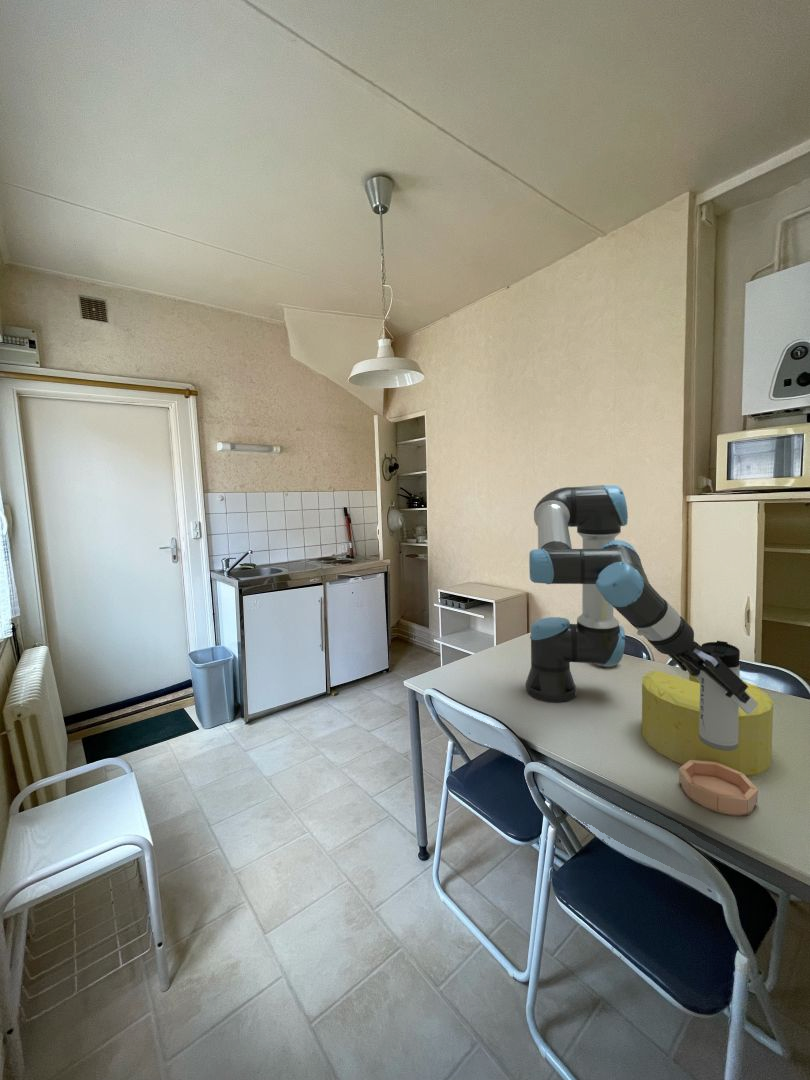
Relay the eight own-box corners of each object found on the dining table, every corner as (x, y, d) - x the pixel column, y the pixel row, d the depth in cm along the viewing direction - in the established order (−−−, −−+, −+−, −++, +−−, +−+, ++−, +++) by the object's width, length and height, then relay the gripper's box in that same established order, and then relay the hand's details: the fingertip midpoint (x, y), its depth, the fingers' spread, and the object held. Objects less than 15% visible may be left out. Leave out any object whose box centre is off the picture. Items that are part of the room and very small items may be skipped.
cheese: (651, 707, 124) (652, 657, 122) (770, 735, 107) (771, 678, 106) (631, 750, 104) (631, 690, 102) (772, 793, 87) (775, 722, 86)
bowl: (697, 812, 83) (697, 795, 82) (672, 773, 94) (672, 758, 94) (768, 819, 80) (769, 801, 80) (733, 778, 92) (734, 763, 92)
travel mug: (739, 740, 86) (742, 643, 84) (735, 755, 81) (738, 653, 80) (702, 730, 90) (703, 638, 89) (696, 743, 86) (698, 646, 84)
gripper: (618, 627, 91) (685, 693, 95) (690, 659, 72) (771, 740, 76) (641, 601, 92) (707, 668, 95) (718, 626, 73) (797, 708, 76)
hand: (735, 700), depth 86 cm, fingers closed on travel mug, 6 cm apart
